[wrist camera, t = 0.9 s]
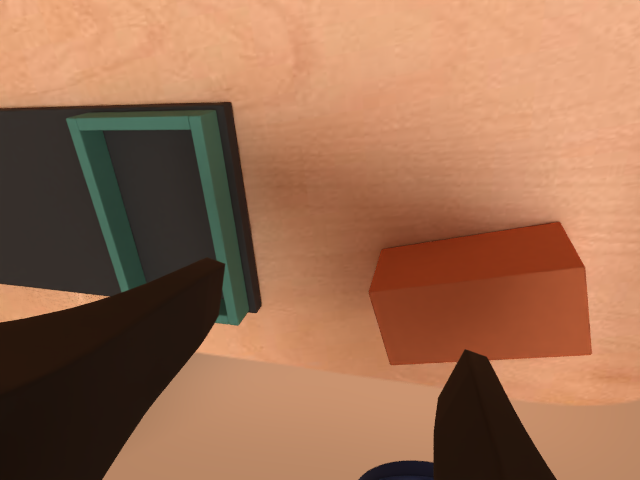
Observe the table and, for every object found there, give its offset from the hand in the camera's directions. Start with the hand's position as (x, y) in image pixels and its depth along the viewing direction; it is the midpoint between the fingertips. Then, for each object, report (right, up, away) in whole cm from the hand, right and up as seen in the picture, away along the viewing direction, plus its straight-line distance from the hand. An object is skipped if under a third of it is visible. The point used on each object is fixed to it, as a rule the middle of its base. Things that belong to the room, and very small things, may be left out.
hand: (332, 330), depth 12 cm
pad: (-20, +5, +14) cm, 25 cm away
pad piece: (+7, +1, +8) cm, 11 cm away
